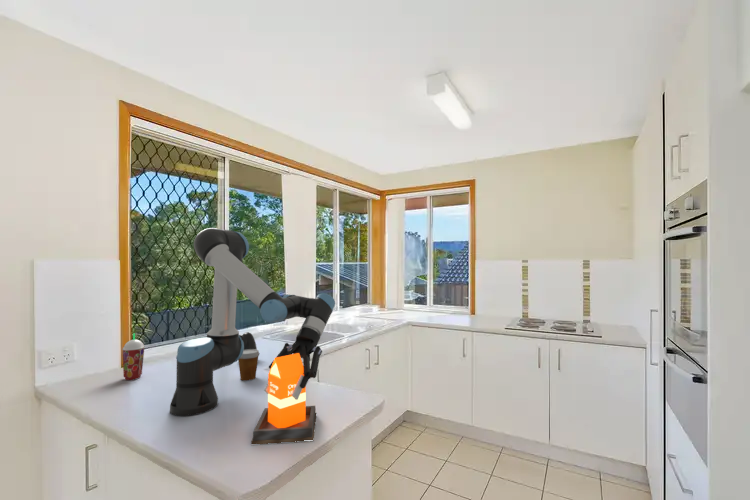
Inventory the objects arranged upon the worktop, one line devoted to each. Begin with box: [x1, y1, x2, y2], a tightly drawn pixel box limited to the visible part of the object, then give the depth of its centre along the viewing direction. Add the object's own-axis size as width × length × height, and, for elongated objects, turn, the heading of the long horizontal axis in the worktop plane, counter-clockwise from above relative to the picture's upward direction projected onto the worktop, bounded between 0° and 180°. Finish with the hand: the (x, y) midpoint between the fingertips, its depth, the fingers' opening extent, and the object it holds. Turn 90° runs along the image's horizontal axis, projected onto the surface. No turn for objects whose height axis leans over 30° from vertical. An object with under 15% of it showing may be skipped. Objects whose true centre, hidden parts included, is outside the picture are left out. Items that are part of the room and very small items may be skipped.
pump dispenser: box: [239, 331, 258, 350], centre depth 185 cm, size 10×10×15 cm
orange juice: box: [267, 353, 307, 428], centre depth 107 cm, size 8×9×20 cm
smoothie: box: [121, 333, 146, 381], centre depth 157 cm, size 8×8×20 cm
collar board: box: [250, 405, 317, 445], centre depth 107 cm, size 17×17×4 cm
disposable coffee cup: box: [237, 349, 260, 382], centre depth 156 cm, size 10×10×12 cm
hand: (280, 395), depth 104 cm, fingers closed on orange juice, 10 cm apart
